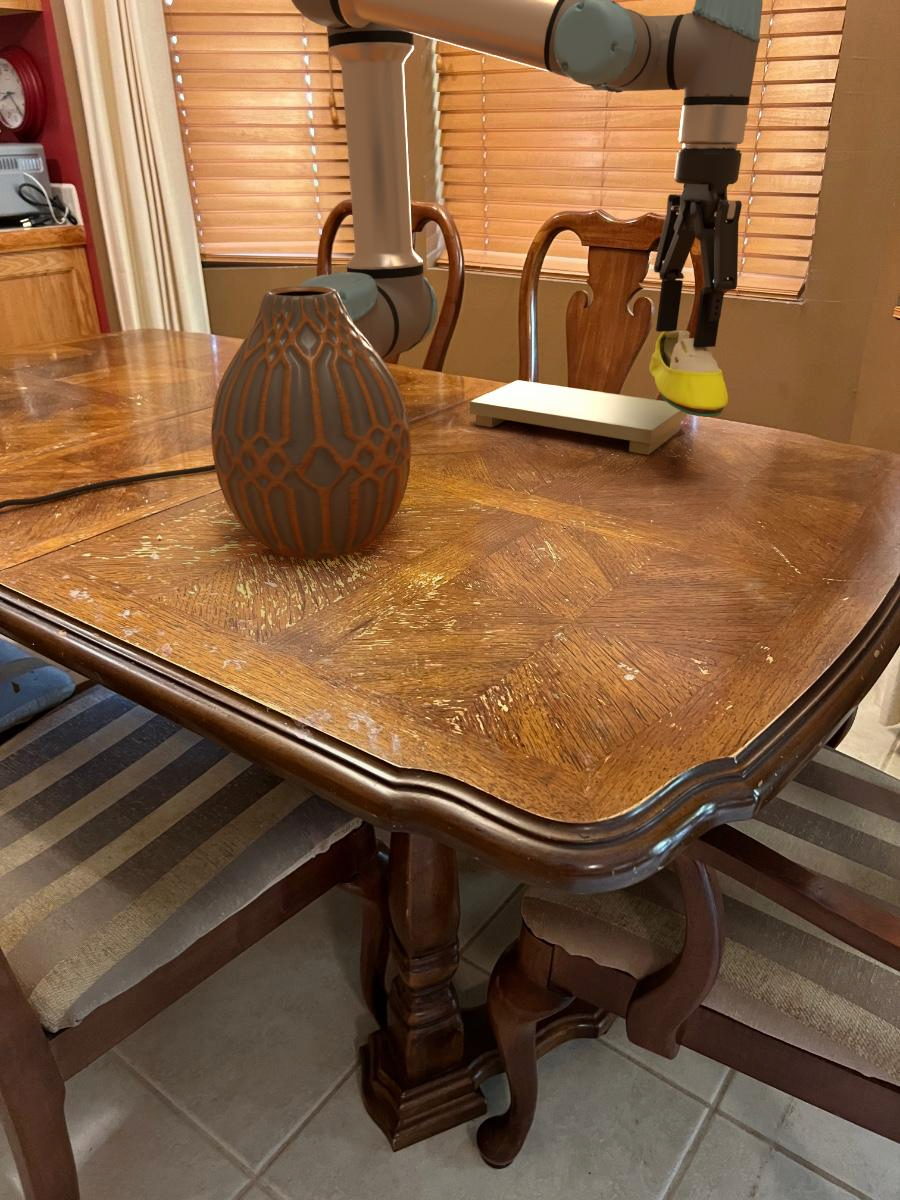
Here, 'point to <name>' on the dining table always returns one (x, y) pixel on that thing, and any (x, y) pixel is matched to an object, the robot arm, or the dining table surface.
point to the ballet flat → (688, 375)
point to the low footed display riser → (581, 413)
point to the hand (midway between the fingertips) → (684, 338)
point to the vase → (310, 430)
